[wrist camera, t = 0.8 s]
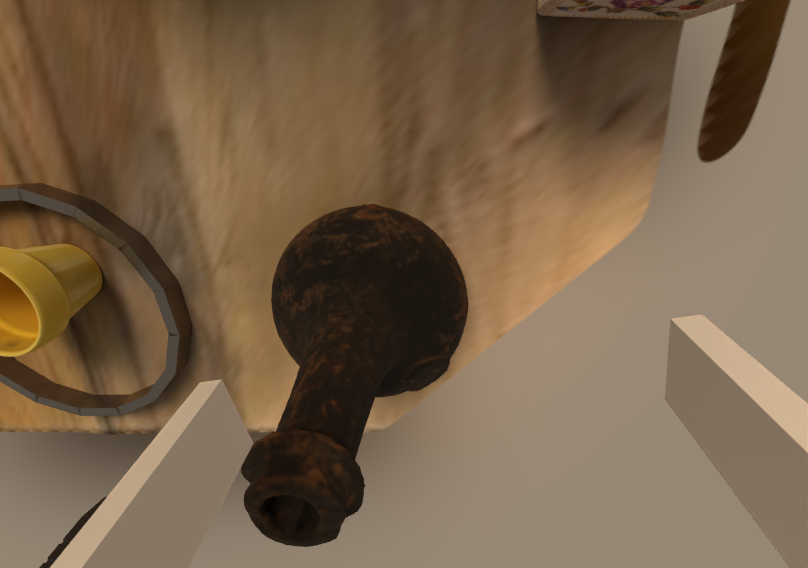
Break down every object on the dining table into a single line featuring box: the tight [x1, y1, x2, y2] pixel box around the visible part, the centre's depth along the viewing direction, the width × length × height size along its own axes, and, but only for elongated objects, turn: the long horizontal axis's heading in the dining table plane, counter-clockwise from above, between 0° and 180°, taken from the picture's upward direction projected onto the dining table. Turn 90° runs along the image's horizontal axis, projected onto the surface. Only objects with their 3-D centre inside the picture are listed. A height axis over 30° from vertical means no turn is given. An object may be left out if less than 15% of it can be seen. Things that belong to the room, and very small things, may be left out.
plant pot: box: [0, 244, 103, 357], centre depth 41 cm, size 10×10×10 cm
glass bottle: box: [241, 204, 468, 547], centre depth 30 cm, size 18×18×28 cm
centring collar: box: [0, 183, 192, 416], centre depth 47 cm, size 28×28×2 cm
